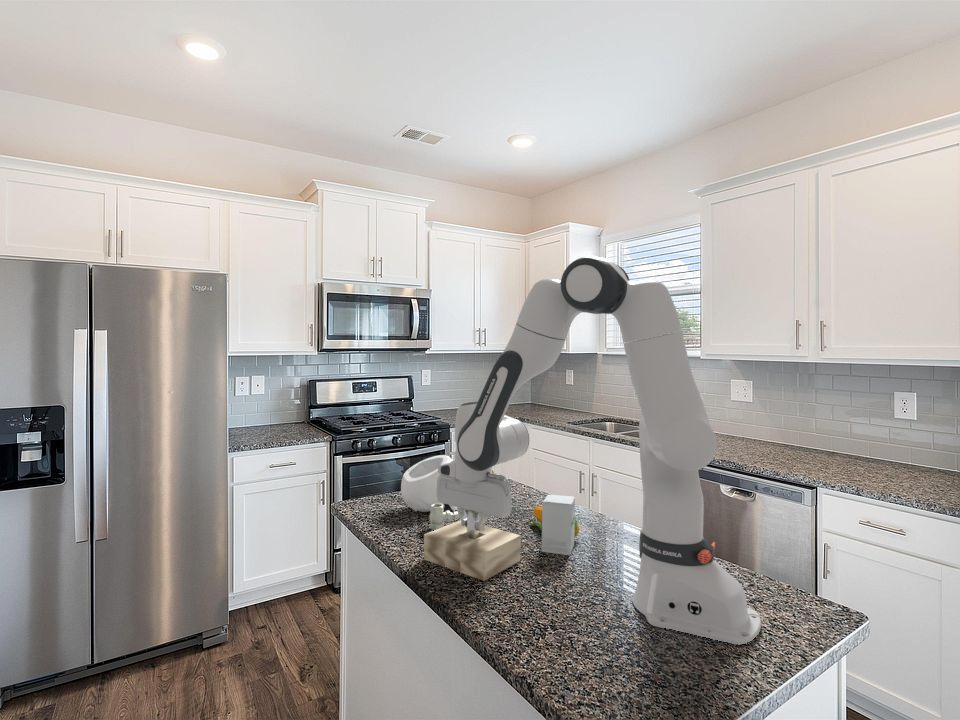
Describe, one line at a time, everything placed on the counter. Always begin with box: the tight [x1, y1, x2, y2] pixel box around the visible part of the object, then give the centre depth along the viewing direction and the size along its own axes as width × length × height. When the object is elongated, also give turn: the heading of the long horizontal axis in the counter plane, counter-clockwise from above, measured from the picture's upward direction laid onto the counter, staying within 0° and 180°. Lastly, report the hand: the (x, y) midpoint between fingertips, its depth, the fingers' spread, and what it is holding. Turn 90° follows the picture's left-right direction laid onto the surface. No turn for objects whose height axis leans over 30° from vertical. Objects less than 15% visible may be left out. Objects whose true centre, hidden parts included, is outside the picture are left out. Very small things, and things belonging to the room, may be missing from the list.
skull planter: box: [400, 454, 457, 513], centre depth 162 cm, size 14×20×19 cm
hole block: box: [423, 519, 522, 582], centre depth 123 cm, size 18×14×6 cm
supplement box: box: [541, 494, 576, 556], centre depth 131 cm, size 7×7×13 cm
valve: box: [428, 504, 467, 531], centre depth 146 cm, size 7×7×12 cm
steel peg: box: [466, 510, 481, 540], centre depth 123 cm, size 3×3×10 cm
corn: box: [531, 505, 580, 539], centre depth 143 cm, size 7×8×20 cm
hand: (472, 528), depth 123 cm, fingers closed on steel peg, 3 cm apart
